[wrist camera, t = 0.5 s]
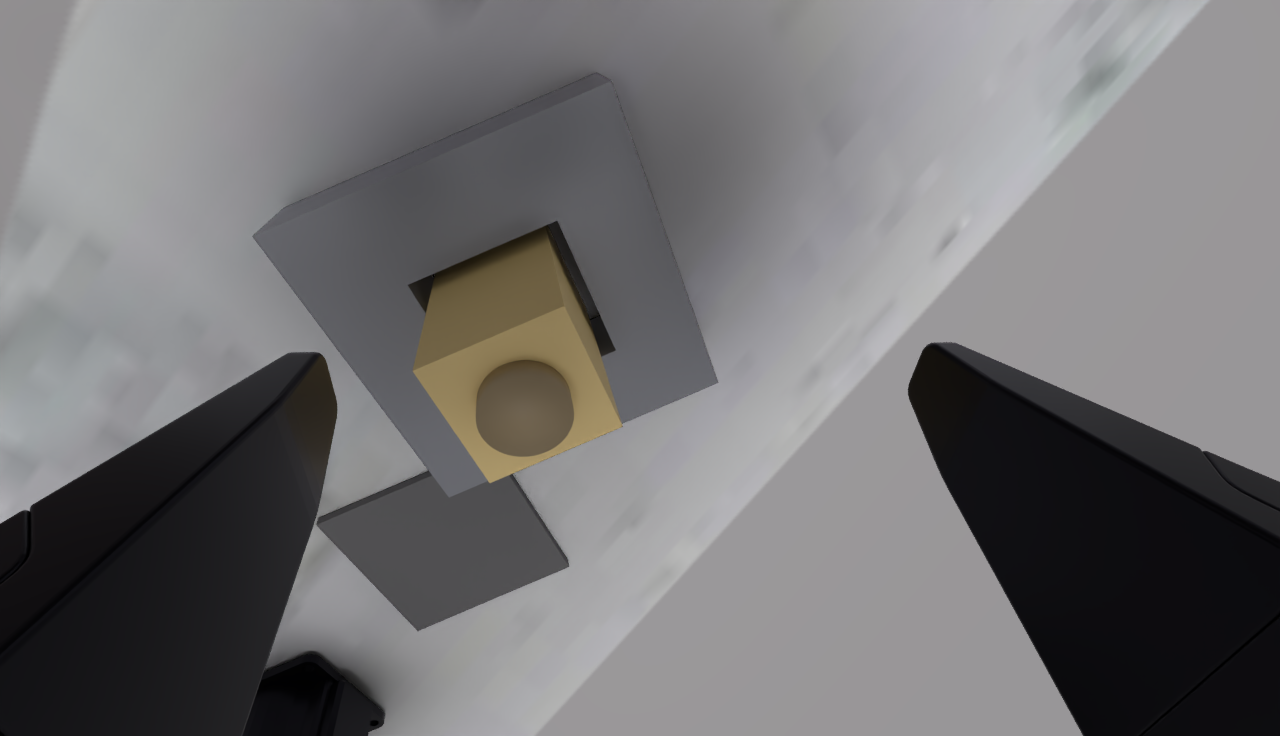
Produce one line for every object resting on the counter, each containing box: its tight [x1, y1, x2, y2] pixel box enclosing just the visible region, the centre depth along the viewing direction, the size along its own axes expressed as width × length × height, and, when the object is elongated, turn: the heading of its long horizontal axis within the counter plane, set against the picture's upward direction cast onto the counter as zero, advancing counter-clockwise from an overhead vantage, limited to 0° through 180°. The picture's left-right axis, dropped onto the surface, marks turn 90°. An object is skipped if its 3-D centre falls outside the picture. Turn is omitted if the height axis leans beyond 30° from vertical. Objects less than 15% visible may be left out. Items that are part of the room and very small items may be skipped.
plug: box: [413, 225, 623, 483], centre depth 19 cm, size 4×4×9 cm
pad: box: [316, 471, 569, 631], centre depth 28 cm, size 8×8×1 cm
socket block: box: [252, 73, 718, 497], centre depth 21 cm, size 11×11×3 cm
